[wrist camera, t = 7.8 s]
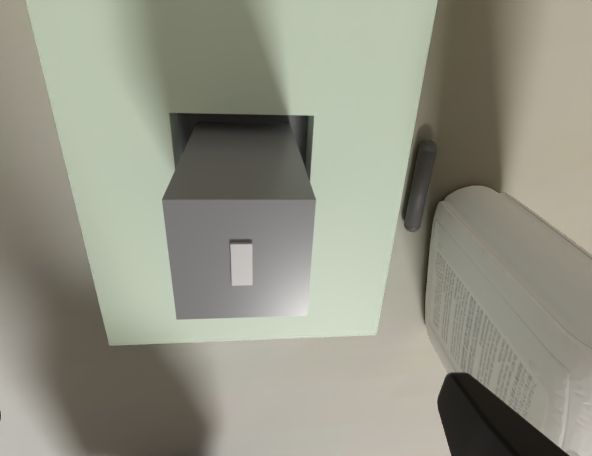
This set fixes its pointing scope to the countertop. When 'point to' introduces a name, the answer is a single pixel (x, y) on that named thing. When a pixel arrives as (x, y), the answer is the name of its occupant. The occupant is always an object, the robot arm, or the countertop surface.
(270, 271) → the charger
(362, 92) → the outlet plate
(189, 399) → the countertop surface
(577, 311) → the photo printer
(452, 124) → the countertop surface
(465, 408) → the robot arm
